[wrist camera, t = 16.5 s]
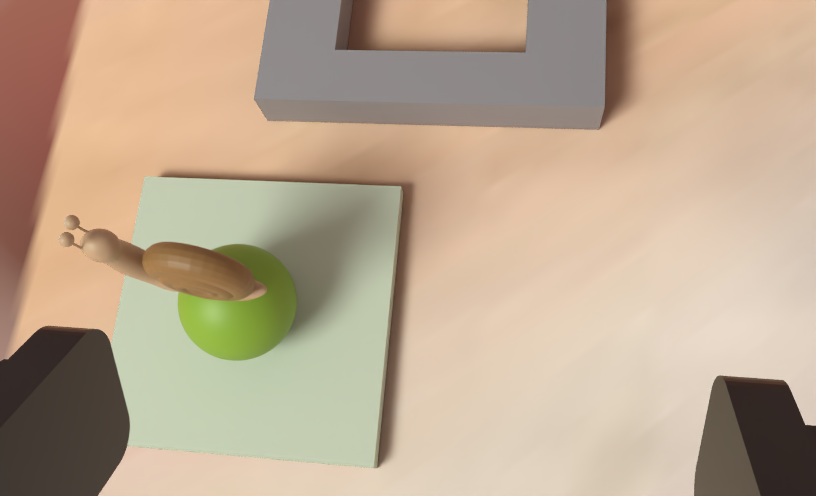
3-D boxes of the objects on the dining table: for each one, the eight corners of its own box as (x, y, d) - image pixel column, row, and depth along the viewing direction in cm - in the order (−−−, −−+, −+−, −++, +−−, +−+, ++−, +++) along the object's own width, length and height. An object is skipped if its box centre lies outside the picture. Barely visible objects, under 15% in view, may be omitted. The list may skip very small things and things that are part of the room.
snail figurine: (200, 253, 40) (79, 159, 29) (319, 270, 39) (242, 179, 28) (173, 356, 39) (35, 300, 27) (296, 376, 38) (205, 327, 26)
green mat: (403, 193, 41) (401, 186, 40) (377, 468, 37) (373, 467, 36) (152, 183, 43) (144, 176, 42) (101, 443, 39) (91, 442, 38)
